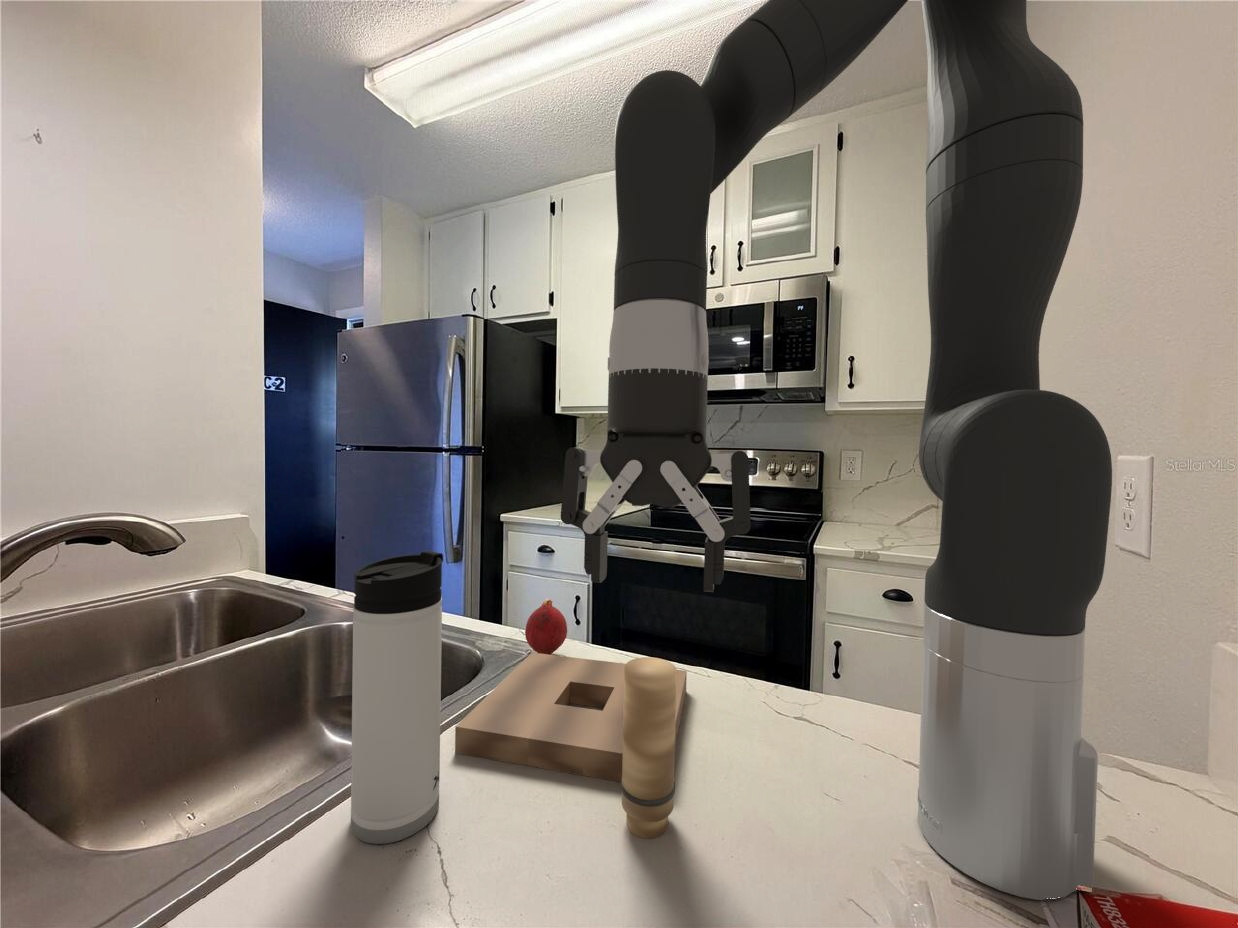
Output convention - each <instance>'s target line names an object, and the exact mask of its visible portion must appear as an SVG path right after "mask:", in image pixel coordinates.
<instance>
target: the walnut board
mask: <svg viewBox="0 0 1238 928" xmlns="http://www.w3.org/2000/svg"><path fill="white" fill-rule="evenodd" d="M625 664H626V663H625V662H624V663H623V662H622V663H621V662H616V661H607V660H598V659H588V658H583V657H582V658H580V657H572V656H564V655H558V654H557V655H555V654H551V655H548V654H540V653H537V652H531V653H530V654H528V656H526V658H525V659H524V660H522V662H521V663H519V664H518V665H517V666H516V667H515V668H514V669H513V670H512V671H511V672H510V673H509V674H508V675H507V676H506V677H504V679H503V680H502V681H501V682H500V683H499V684H498V685H497V686H496V687H494V689H493V690H492V691H491V692H489V693H488V694H487V695H486V696H485V697H484V698H483V700H481V701H480V702H479V703H478V704H477V705H476V706H475V707H474V708H472V710H470V712H469V713H468V714H467V715H466V716H465V717H463V719H461V720H460V722H458V723H457V724H456V725H455V729H454V731H455V733H454V753H455V754H460V755H465V756H471V757H476V758H483V759H488V760H493V761H498V762H505V763H511V764H517V765H523V766H528V767H532V768H533V767H534V768H539V769H545V770H551V771H556V772H562V773H569V774H573V775H580V776H585V777H590V778H597V779H603V780H608V781H615V782H620V783H621V778H622V761H623V713H624V666H625ZM687 674H688V671H687V670H684V669H683V670H682V669H677V672H676V716H675V747H676V745H677V740H678V735H679V730H680V724H681V720H682V714H683V709H684V705H685V698H686V694H687ZM570 704H572V705H579V706H587V707H594V708H600V709H601V708H602V710H599V709H593V708H592V709H591V708H585V707H578V706H572V705H570Z"/></svg>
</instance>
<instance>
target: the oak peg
mask: <svg viewBox="0 0 1238 928" xmlns="http://www.w3.org/2000/svg"><path fill="white" fill-rule="evenodd" d="M624 664H625V666H624V713H623V761H622V778H621V782H620V790H621V807H622V809H623V811H624V812H625V814H626V819H625V820H626V826H627V828H628V830H629V831H630V832H631V833H632V834H633V835H635V836H638V837H640V838H643V839H653V838H657V837H660V836H661V835H663V834H664V833H665V832H666V831H667V830H668V826H669V816H670V815H671V814H672V813H673V810H674V805H675V804H674V803H675V801H674V798H675V792H676V782H675V757H676V756H675V754H676V753H675V752H676V746H675V716H676V672H677V670H678V669H677V666H676V665H674V664H673V662H671V661H669V660H667V659H662V658H659V657H652V656H650V657H649V656H647V657H646V656H645V657H638V658H633V659H630V660H628V661H627V662H626V663H624Z"/></svg>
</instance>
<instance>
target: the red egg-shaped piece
mask: <svg viewBox="0 0 1238 928" xmlns="http://www.w3.org/2000/svg"><path fill="white" fill-rule="evenodd" d="M524 634H525V635H524V636H525V640H526V642H527V645H528V646H529V647H530V648H532V650H533V651H534V653H540V654H548V655H553V653H555V652H556V651H557V650H559V649H560V647H561V646H562V645H563V644H564V642H565V640H566V639H567V637H568V636H567V635H568V625H567V620H566V617H565V616H564V614H563V613H562V611H560V610H559V609H558V608H557V607H555V606H553V600H552V599H550V598H546V599H544V601H543V602H542V604H541V606H539V607H538V608H537V609H535V610H534V611H532V612H531V614H530V615H529V617H528V619H527V622H526V625H525V631H524Z"/></svg>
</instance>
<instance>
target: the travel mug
mask: <svg viewBox="0 0 1238 928" xmlns="http://www.w3.org/2000/svg"><path fill="white" fill-rule="evenodd" d="M443 562H444V555H443V553H441V552H436V551H431V550H427V551H422V552H420V553H419V554H405V555H398V556H392V557H388V558H384V559H383V558H382V559H380V560H377V561H374V562H371V563H368V564H366V565H364V566H361V567H360V568H359V569H357V570H356V571H355V573H354V581H353V582H354V584H353V585H354V587H353V588H354V589H353V591H354V595H355V596H354V598H353V599H354V600H353V605H352V607H353V608H352V613H353V617H352V681H351V682H352V683H351V685H352V688H351V689H352V691H351V693H352V694H351V695H352V697H351V698H352V699H351V700H352V701H351V765H350V766H351V772H350V773H351V777H350V779H351V780H350V783H351V785H350V805H351V806H350V829H351V831H352V834H353V835H354V836H355V837H356V838H357V839H359V840H360V841H362V842H364V843H367V844H375V845H376V844H377V845H380V844H381V845H382V844H383V845H384V844H391V843H396V842H398V841H402V840H404V839H406V838H409V837H411V836H412V835H415V834H416V833H418V832H419V831H421V830H423V828H425V827H426V826H427V825H428V824H429V823H430V822H431V821H432V820H433V819H434V816H436V814H437V812H438V809H439V806H440V779H441V778H440V771H441V769H440V768H441V760H440V759H441V711H442V710H441V703H442V702H441V698H442V693H441V692H442V687H441V686H442V639H443V638H442V632H443V631H442V630H443V627H442V624H443V623H442V621H443V607H442V605H443V597H442V589H441V587H442V583H443V582H442V581H443V580H442V577H443V575H442V574H443V571H442V570H443V566H442V565H443Z"/></svg>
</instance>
